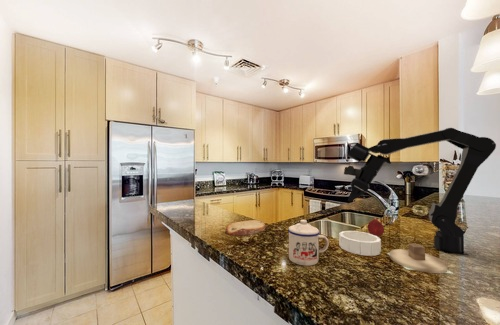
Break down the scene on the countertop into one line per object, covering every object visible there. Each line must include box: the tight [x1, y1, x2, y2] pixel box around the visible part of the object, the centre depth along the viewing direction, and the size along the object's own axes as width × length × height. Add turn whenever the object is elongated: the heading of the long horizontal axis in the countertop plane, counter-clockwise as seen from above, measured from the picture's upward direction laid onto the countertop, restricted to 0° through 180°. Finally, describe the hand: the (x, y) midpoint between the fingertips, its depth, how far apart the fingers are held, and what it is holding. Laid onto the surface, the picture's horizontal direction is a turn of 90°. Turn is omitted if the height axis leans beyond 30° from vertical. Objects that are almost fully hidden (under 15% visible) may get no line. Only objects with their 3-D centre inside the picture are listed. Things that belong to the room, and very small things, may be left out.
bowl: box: [338, 230, 382, 257], centre depth 70 cm, size 12×12×4 cm
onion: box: [366, 217, 385, 238], centre depth 83 cm, size 6×6×8 cm
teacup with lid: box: [287, 219, 330, 267], centre depth 61 cm, size 12×9×12 cm
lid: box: [389, 243, 449, 274], centre depth 60 cm, size 13×13×5 cm
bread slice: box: [225, 219, 266, 237], centre depth 91 cm, size 18×18×4 cm
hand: (349, 199), depth 87 cm, fingers open, 9 cm apart
